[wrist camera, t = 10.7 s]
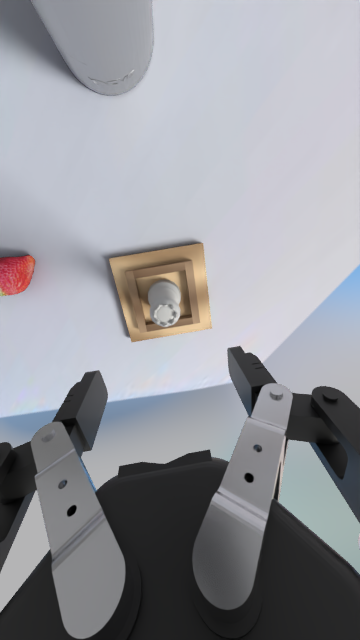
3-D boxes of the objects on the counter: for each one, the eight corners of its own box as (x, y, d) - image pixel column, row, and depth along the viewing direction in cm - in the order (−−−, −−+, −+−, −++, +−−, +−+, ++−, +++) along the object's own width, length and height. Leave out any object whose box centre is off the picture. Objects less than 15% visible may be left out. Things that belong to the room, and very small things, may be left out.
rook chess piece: (169, 271, 28) (172, 285, 20) (186, 299, 29) (195, 321, 22) (141, 289, 28) (133, 309, 21) (159, 315, 30) (159, 342, 22)
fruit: (51, 271, 28) (29, 279, 23) (20, 297, 29) (-8, 309, 24) (25, 243, 26) (-5, 245, 22) (-8, 271, 27) (-43, 279, 22)
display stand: (110, 257, 27) (106, 260, 25) (201, 242, 28) (204, 243, 25) (132, 338, 32) (130, 346, 30) (210, 325, 32) (213, 331, 30)
